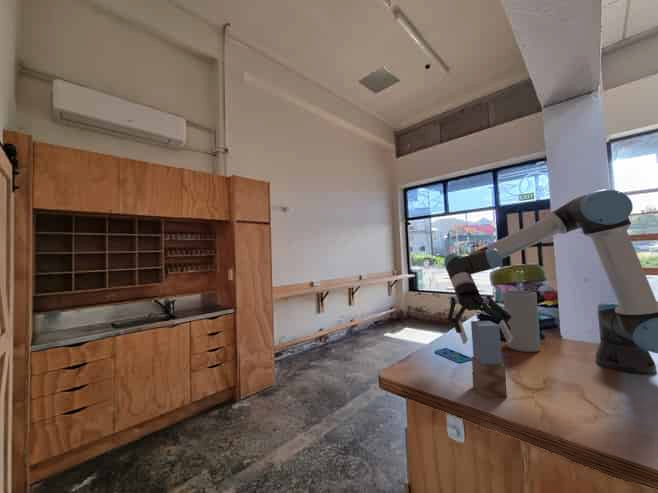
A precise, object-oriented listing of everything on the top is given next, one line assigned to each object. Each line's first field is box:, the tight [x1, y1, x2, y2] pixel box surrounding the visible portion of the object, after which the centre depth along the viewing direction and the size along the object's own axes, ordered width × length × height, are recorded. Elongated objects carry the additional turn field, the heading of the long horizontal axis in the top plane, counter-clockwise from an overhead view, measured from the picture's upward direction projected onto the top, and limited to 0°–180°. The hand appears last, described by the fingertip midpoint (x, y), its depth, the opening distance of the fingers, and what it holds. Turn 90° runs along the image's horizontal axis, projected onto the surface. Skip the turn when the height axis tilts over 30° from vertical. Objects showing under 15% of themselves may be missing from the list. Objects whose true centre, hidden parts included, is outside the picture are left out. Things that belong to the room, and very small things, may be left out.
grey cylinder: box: [502, 290, 542, 353], centre depth 123 cm, size 12×12×25 cm
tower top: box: [471, 356, 507, 383], centre depth 87 cm, size 7×7×5 cm
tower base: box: [471, 371, 508, 399], centre depth 87 cm, size 7×7×5 cm
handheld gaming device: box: [434, 347, 472, 364], centre depth 118 cm, size 8×1×15 cm
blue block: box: [470, 320, 503, 365], centre depth 87 cm, size 6×6×12 cm
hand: (487, 341), depth 86 cm, fingers open, 13 cm apart
